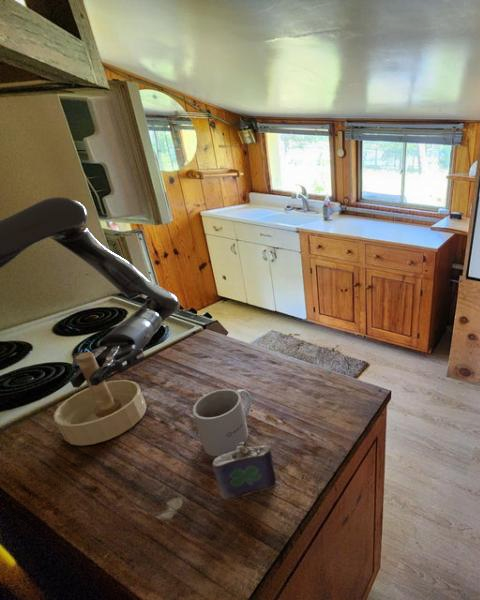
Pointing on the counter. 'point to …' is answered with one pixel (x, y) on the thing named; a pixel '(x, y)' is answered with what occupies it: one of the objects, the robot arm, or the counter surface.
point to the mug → (222, 420)
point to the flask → (244, 471)
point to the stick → (98, 387)
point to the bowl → (91, 429)
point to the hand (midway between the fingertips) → (83, 382)
